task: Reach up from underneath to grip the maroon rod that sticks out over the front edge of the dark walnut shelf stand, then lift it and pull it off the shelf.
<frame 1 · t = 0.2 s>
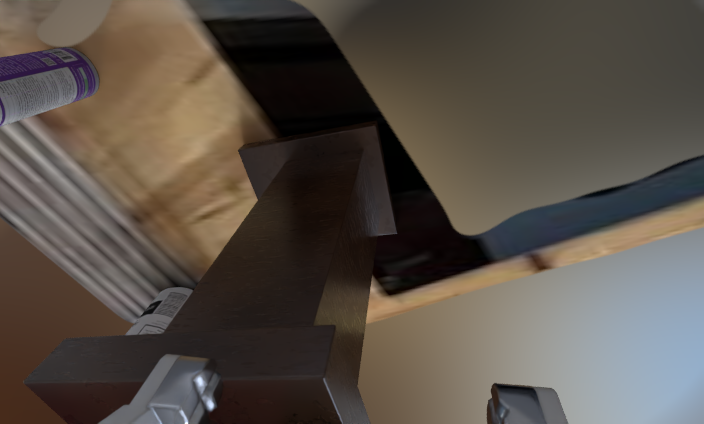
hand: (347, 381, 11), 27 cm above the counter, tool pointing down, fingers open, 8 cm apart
container: (77, 72, 36), on the counter
shelf stand: (323, 186, 38), on the counter
supplement can: (188, 304, 52), on the counter
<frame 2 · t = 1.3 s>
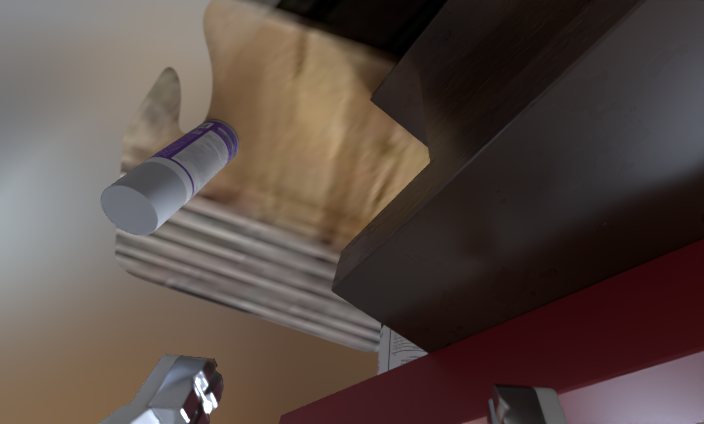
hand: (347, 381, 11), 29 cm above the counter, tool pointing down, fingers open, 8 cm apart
maroon rod: (601, 315, 12), point 26 cm above the counter, touching shelf stand
container: (219, 139, 40), on the counter
shelf stand: (470, 76, 33), on the counter
supplement can: (413, 302, 49), on the counter
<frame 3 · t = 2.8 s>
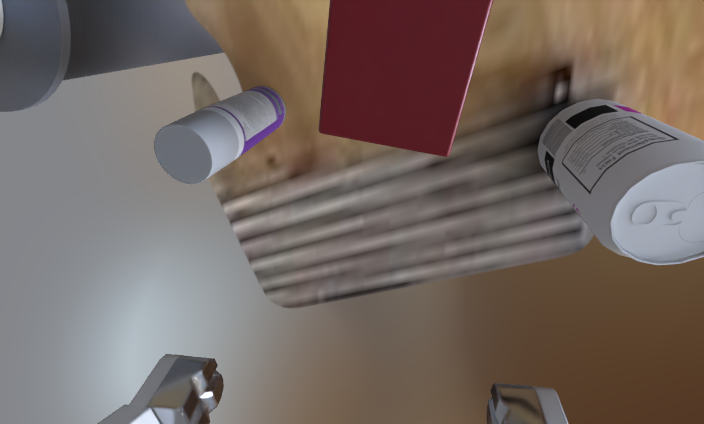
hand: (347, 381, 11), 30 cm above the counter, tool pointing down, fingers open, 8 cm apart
container: (265, 108, 39), on the counter
supplement can: (581, 140, 35), on the counter
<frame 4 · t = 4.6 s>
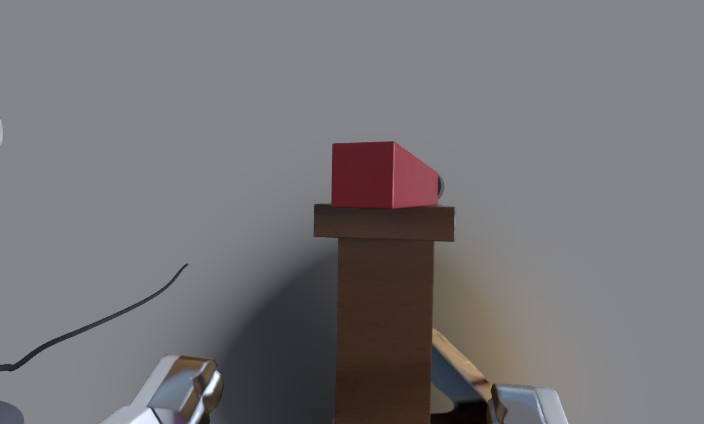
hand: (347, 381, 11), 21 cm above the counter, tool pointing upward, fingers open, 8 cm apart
maroon rod: (414, 205, 31), point 26 cm above the counter, touching shelf stand
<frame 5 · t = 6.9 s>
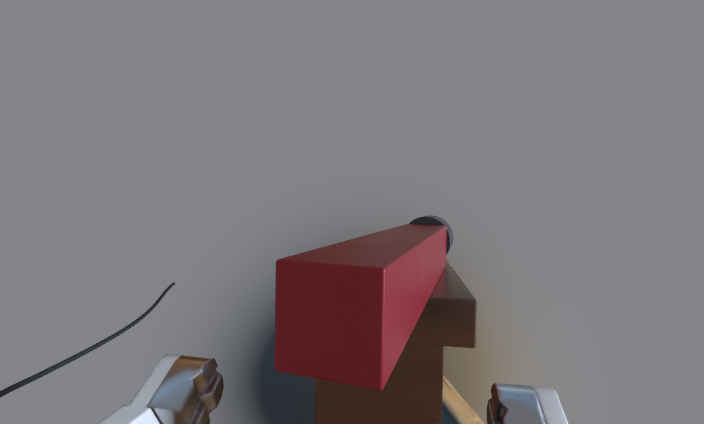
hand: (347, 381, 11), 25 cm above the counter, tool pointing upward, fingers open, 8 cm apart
maroon rod: (417, 274, 23), point 26 cm above the counter, touching shelf stand
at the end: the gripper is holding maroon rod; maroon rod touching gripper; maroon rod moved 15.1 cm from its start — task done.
